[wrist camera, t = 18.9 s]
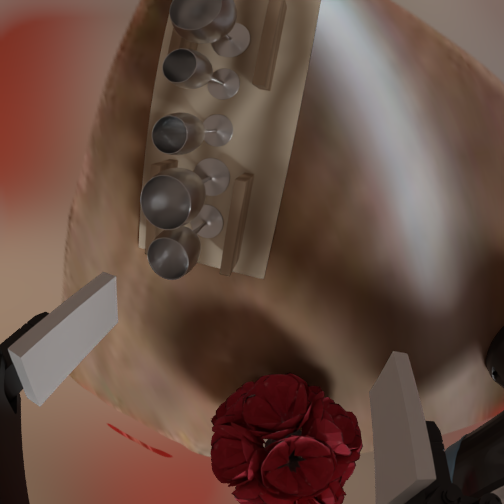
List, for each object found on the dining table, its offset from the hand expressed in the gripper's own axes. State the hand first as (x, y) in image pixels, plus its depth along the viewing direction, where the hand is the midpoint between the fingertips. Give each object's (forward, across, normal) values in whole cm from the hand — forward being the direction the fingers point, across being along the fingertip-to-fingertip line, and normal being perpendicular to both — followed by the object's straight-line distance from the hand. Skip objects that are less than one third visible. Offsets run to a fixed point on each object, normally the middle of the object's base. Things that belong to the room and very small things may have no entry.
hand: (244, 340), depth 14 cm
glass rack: (+26, +11, -8) cm, 29 cm away
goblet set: (+26, +10, -7) cm, 29 cm away
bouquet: (+27, -9, +34) cm, 44 cm away
